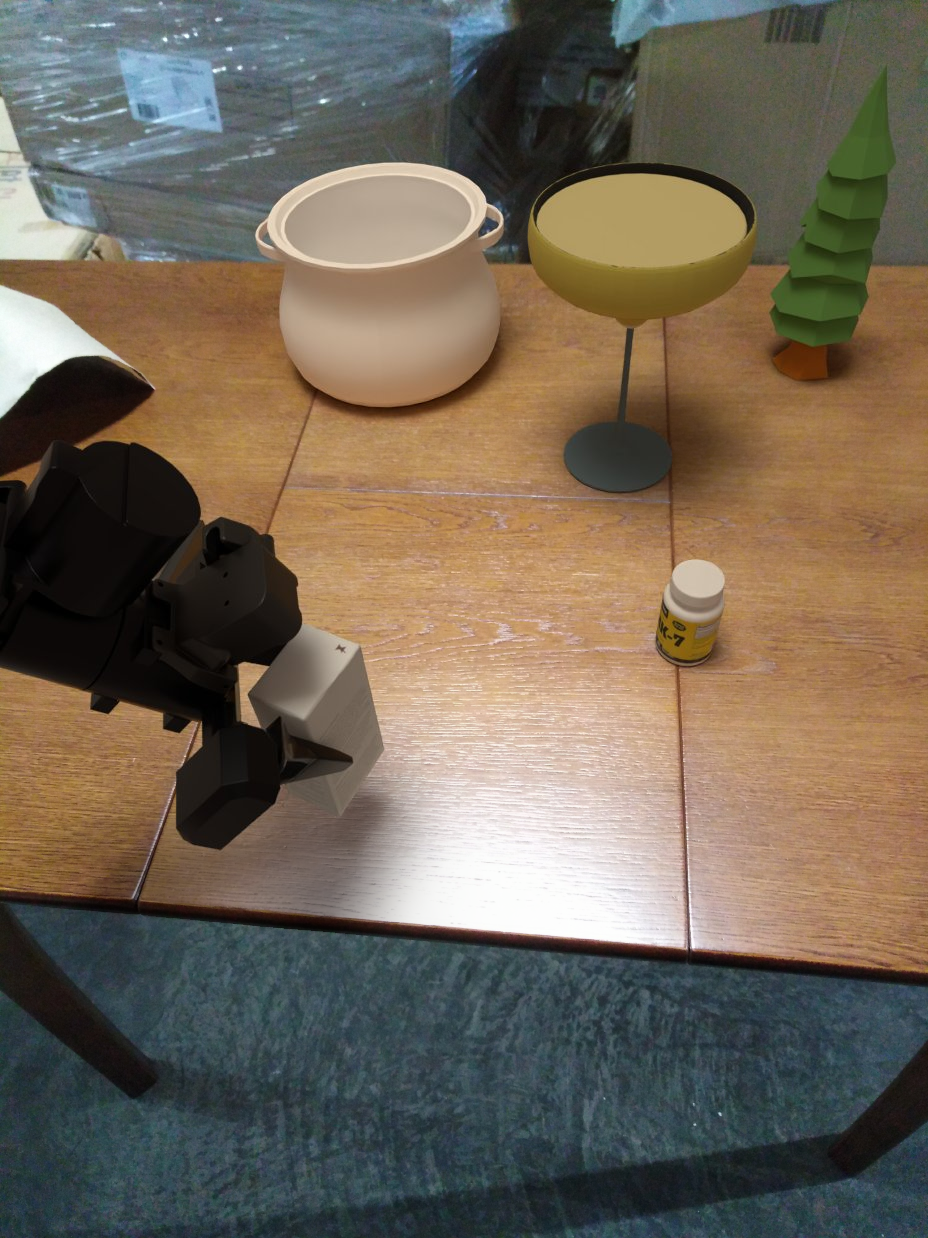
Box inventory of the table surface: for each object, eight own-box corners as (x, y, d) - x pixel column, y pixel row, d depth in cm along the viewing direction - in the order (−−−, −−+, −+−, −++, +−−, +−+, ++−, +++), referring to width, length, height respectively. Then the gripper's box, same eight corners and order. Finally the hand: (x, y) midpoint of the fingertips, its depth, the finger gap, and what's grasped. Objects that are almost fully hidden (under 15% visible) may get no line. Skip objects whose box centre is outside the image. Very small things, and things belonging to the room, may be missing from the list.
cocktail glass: (696, 399, 95) (739, 155, 76) (722, 517, 84) (780, 265, 64) (526, 403, 96) (526, 164, 77) (528, 520, 85) (529, 274, 66)
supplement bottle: (643, 635, 75) (654, 567, 69) (691, 615, 76) (706, 546, 70) (675, 676, 72) (690, 609, 66) (724, 655, 73) (743, 587, 67)
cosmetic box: (334, 727, 63) (303, 618, 54) (386, 750, 62) (364, 642, 53) (285, 796, 60) (243, 693, 51) (338, 822, 58) (306, 721, 49)
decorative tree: (776, 393, 95) (856, 84, 72) (741, 344, 101) (805, 44, 78) (862, 378, 96) (968, 67, 73) (823, 331, 102) (909, 29, 79)
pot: (504, 293, 111) (501, 151, 98) (508, 416, 95) (505, 267, 82) (300, 302, 112) (270, 163, 99) (270, 425, 96) (230, 280, 83)
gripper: (179, 698, 37) (456, 779, 46) (178, 421, 48) (399, 531, 58) (57, 826, 42) (329, 876, 51) (84, 548, 54) (301, 631, 63)
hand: (342, 715), depth 56 cm, fingers closed on cosmetic box, 7 cm apart
